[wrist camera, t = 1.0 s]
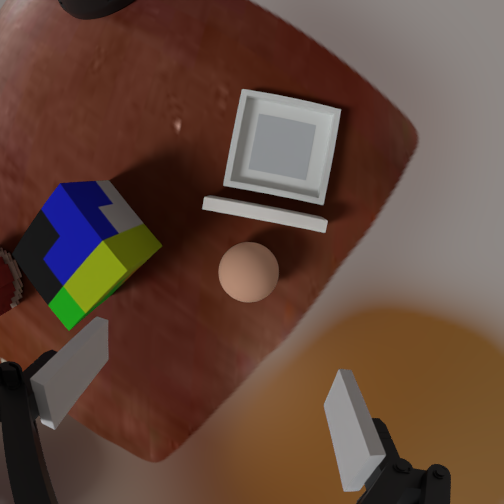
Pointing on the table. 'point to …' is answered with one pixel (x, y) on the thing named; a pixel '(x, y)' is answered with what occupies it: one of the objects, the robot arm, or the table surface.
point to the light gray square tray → (282, 146)
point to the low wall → (265, 213)
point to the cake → (9, 282)
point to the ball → (248, 272)
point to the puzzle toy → (83, 248)
